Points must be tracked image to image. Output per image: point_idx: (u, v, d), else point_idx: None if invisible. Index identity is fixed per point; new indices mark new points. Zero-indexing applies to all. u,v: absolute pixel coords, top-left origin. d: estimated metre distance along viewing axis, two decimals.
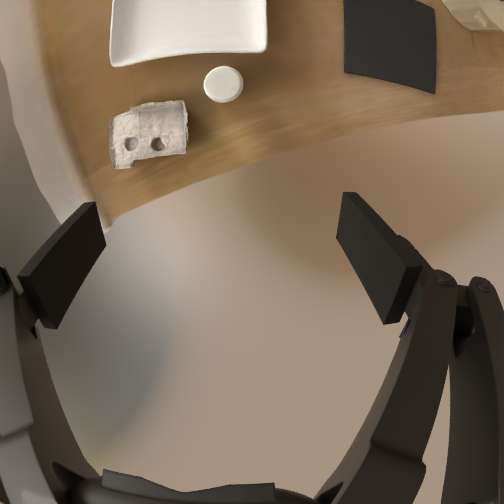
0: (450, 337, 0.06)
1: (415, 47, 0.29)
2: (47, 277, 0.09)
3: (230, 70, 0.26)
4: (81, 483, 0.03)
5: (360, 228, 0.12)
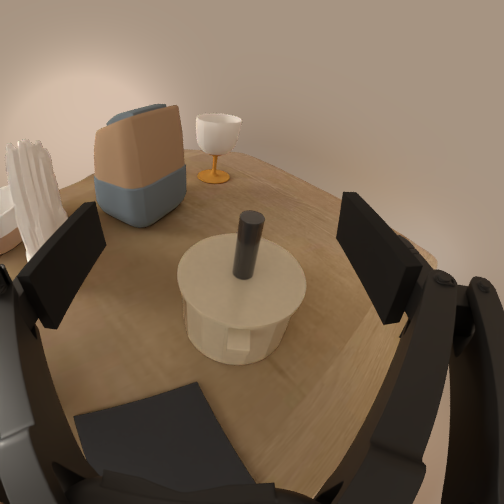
0: (450, 337, 0.06)
1: (196, 463, 0.23)
2: (47, 277, 0.09)
3: None
4: (81, 483, 0.03)
5: (360, 228, 0.12)
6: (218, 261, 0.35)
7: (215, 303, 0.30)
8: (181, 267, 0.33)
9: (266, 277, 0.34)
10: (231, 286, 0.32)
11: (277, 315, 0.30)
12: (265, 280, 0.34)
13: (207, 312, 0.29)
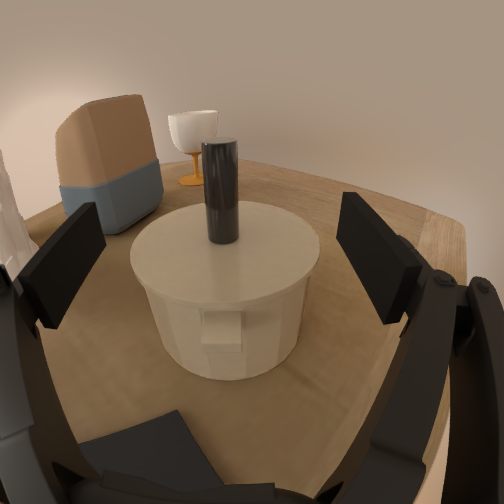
0: (450, 337, 0.06)
1: None
2: (47, 277, 0.09)
3: None
4: (81, 483, 0.03)
5: (360, 228, 0.12)
6: (189, 229, 0.24)
7: (181, 277, 0.19)
8: (137, 242, 0.23)
9: (258, 238, 0.23)
10: (206, 253, 0.21)
11: (281, 281, 0.18)
12: (257, 241, 0.23)
13: (167, 289, 0.18)
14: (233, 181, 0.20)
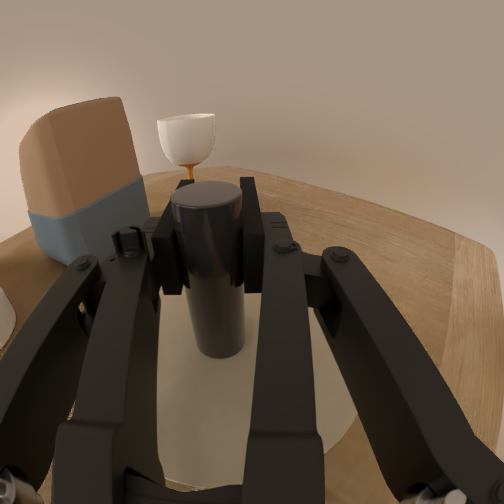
0: (304, 301, 0.07)
1: None
2: None
3: None
4: None
5: None
6: (167, 320, 0.15)
7: None
8: None
9: None
10: (193, 379, 0.12)
11: None
12: None
13: None
14: (235, 272, 0.11)
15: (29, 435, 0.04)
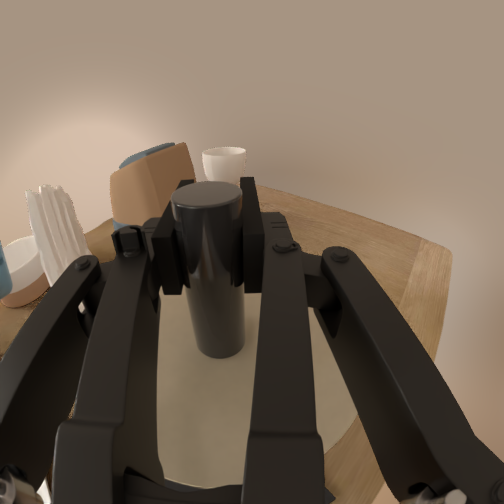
0: (304, 301, 0.07)
1: None
2: None
3: None
4: None
5: None
6: (167, 320, 0.15)
7: None
8: None
9: None
10: (194, 379, 0.12)
11: None
12: None
13: None
14: (235, 272, 0.11)
15: (29, 436, 0.04)
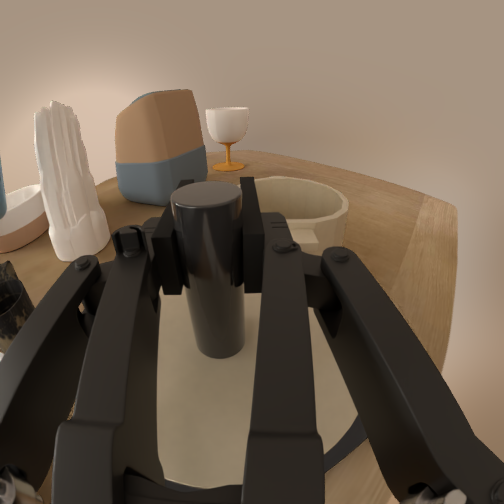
0: (304, 301, 0.07)
1: None
2: None
3: None
4: None
5: None
6: (167, 320, 0.15)
7: None
8: None
9: None
10: (193, 380, 0.12)
11: None
12: None
13: None
14: (235, 272, 0.11)
15: (29, 435, 0.04)
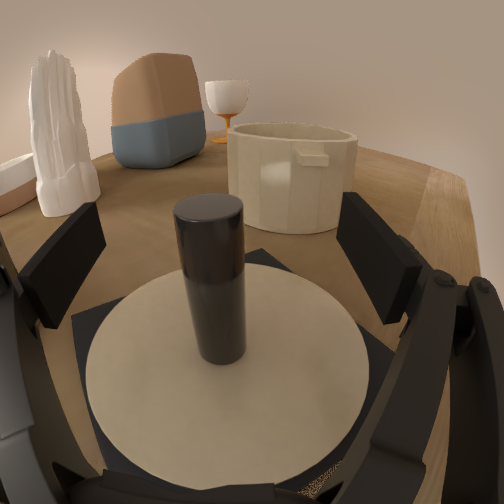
0: (450, 337, 0.06)
1: None
2: (47, 277, 0.09)
3: None
4: (81, 483, 0.03)
5: (360, 228, 0.12)
6: (169, 326, 0.15)
7: (158, 435, 0.10)
8: (96, 347, 0.14)
9: (276, 350, 0.14)
10: (196, 386, 0.12)
11: (315, 446, 0.09)
12: (275, 358, 0.14)
13: (140, 458, 0.09)
14: (237, 282, 0.11)
15: None
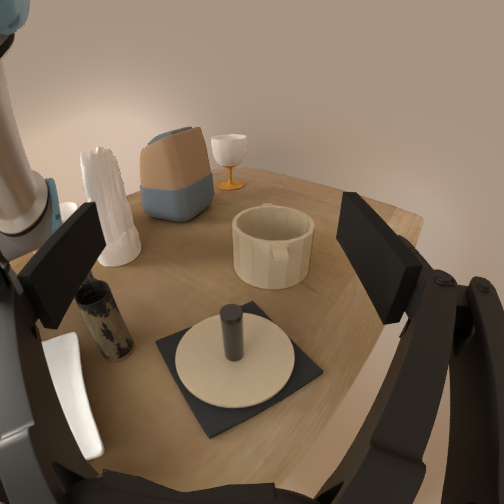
0: (450, 337, 0.06)
1: None
2: (47, 277, 0.09)
3: None
4: (81, 483, 0.03)
5: (360, 228, 0.12)
6: (211, 345, 0.36)
7: (211, 388, 0.31)
8: (178, 356, 0.35)
9: (256, 355, 0.35)
10: (224, 369, 0.33)
11: (268, 391, 0.30)
12: (255, 358, 0.35)
13: (205, 397, 0.30)
14: (240, 334, 0.32)
15: None
